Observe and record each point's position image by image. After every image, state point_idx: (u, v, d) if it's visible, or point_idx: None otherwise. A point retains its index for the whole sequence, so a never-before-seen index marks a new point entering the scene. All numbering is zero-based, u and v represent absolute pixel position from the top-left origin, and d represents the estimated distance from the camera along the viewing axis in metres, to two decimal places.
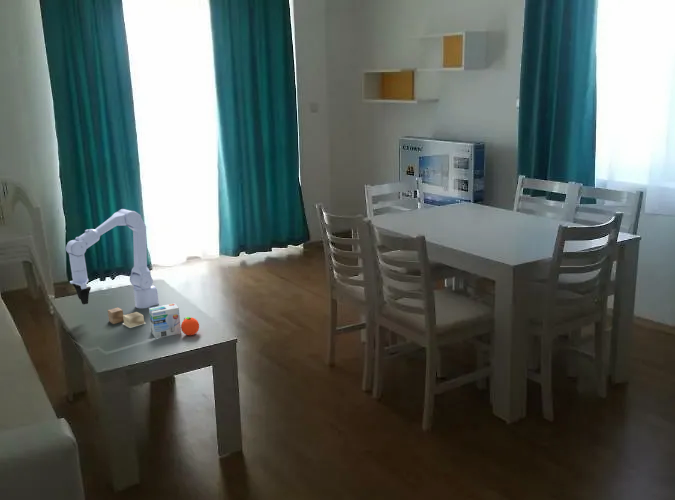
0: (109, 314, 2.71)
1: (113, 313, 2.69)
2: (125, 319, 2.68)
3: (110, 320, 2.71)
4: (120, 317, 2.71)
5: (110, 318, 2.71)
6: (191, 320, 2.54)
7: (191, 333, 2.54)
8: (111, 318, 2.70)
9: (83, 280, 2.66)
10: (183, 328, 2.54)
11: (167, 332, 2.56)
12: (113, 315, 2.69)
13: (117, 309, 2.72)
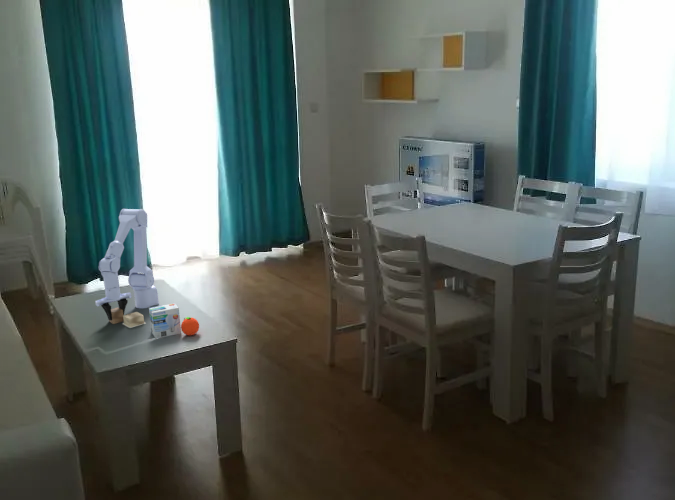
0: None
1: (113, 313, 2.69)
2: (125, 319, 2.68)
3: None
4: (120, 317, 2.71)
5: None
6: (191, 320, 2.54)
7: (191, 333, 2.54)
8: None
9: (107, 298, 2.68)
10: (183, 328, 2.54)
11: (167, 332, 2.56)
12: (113, 315, 2.69)
13: (117, 309, 2.72)
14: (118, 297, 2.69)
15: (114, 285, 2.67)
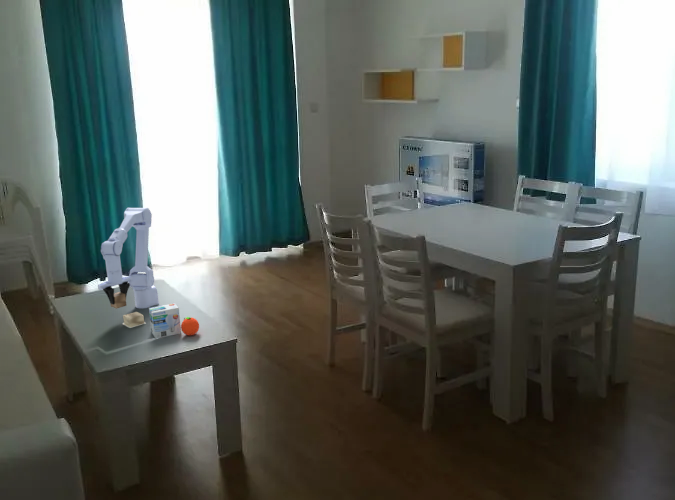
0: None
1: (116, 297, 2.66)
2: (125, 319, 2.68)
3: (113, 304, 2.68)
4: (123, 301, 2.69)
5: None
6: (191, 320, 2.54)
7: (191, 333, 2.54)
8: None
9: (110, 281, 2.65)
10: (183, 328, 2.54)
11: (167, 332, 2.56)
12: (116, 299, 2.67)
13: (119, 293, 2.69)
14: (121, 280, 2.66)
15: (117, 268, 2.64)
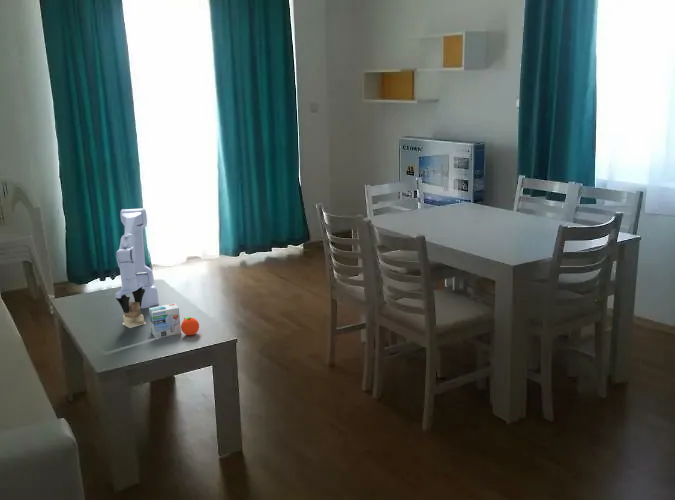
0: None
1: (132, 306, 2.65)
2: (125, 319, 2.68)
3: (128, 314, 2.66)
4: (138, 310, 2.68)
5: None
6: (191, 320, 2.54)
7: (191, 333, 2.54)
8: (130, 312, 2.66)
9: (126, 289, 2.63)
10: (183, 328, 2.54)
11: (167, 332, 2.56)
12: (133, 308, 2.65)
13: (132, 303, 2.68)
14: (136, 287, 2.65)
15: (133, 275, 2.63)
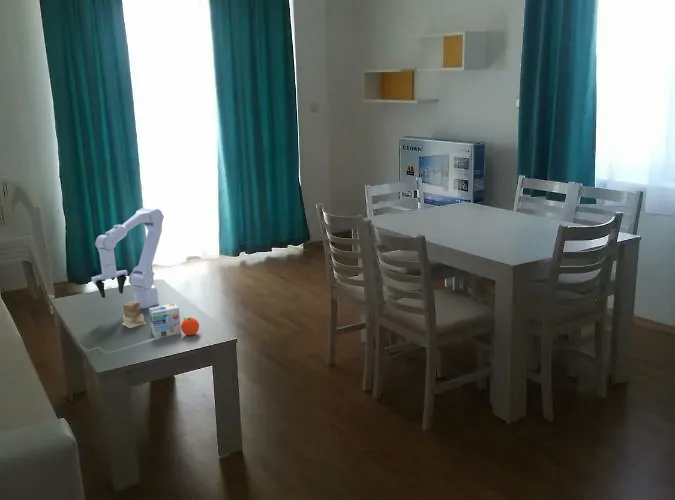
0: (126, 308, 2.66)
1: (132, 306, 2.65)
2: (125, 319, 2.68)
3: (128, 314, 2.66)
4: (138, 310, 2.68)
5: (127, 312, 2.66)
6: (191, 320, 2.54)
7: (191, 333, 2.54)
8: (130, 312, 2.66)
9: (103, 275, 2.71)
10: (183, 328, 2.54)
11: (167, 332, 2.56)
12: (133, 308, 2.65)
13: (132, 303, 2.68)
14: (114, 274, 2.72)
15: (108, 262, 2.70)
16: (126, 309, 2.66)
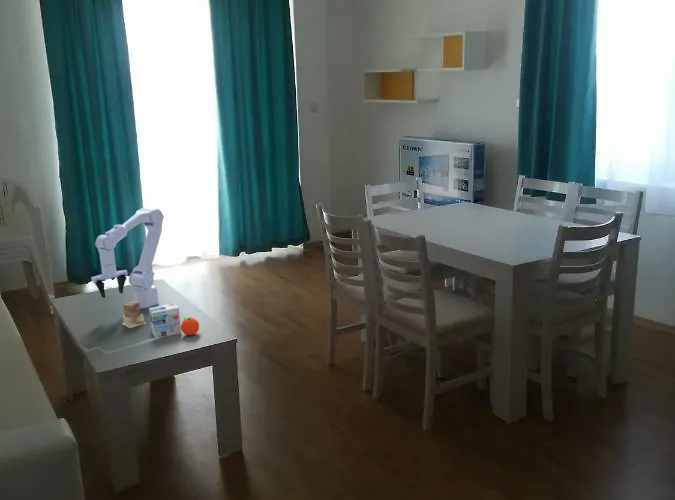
0: (126, 308, 2.66)
1: (132, 306, 2.65)
2: (125, 319, 2.68)
3: (128, 314, 2.66)
4: (138, 310, 2.68)
5: (127, 312, 2.66)
6: (191, 320, 2.54)
7: (191, 333, 2.54)
8: (130, 312, 2.66)
9: (103, 275, 2.71)
10: (183, 328, 2.54)
11: (167, 332, 2.56)
12: (133, 308, 2.65)
13: (132, 303, 2.68)
14: (114, 274, 2.72)
15: (108, 262, 2.70)
16: (126, 309, 2.66)
